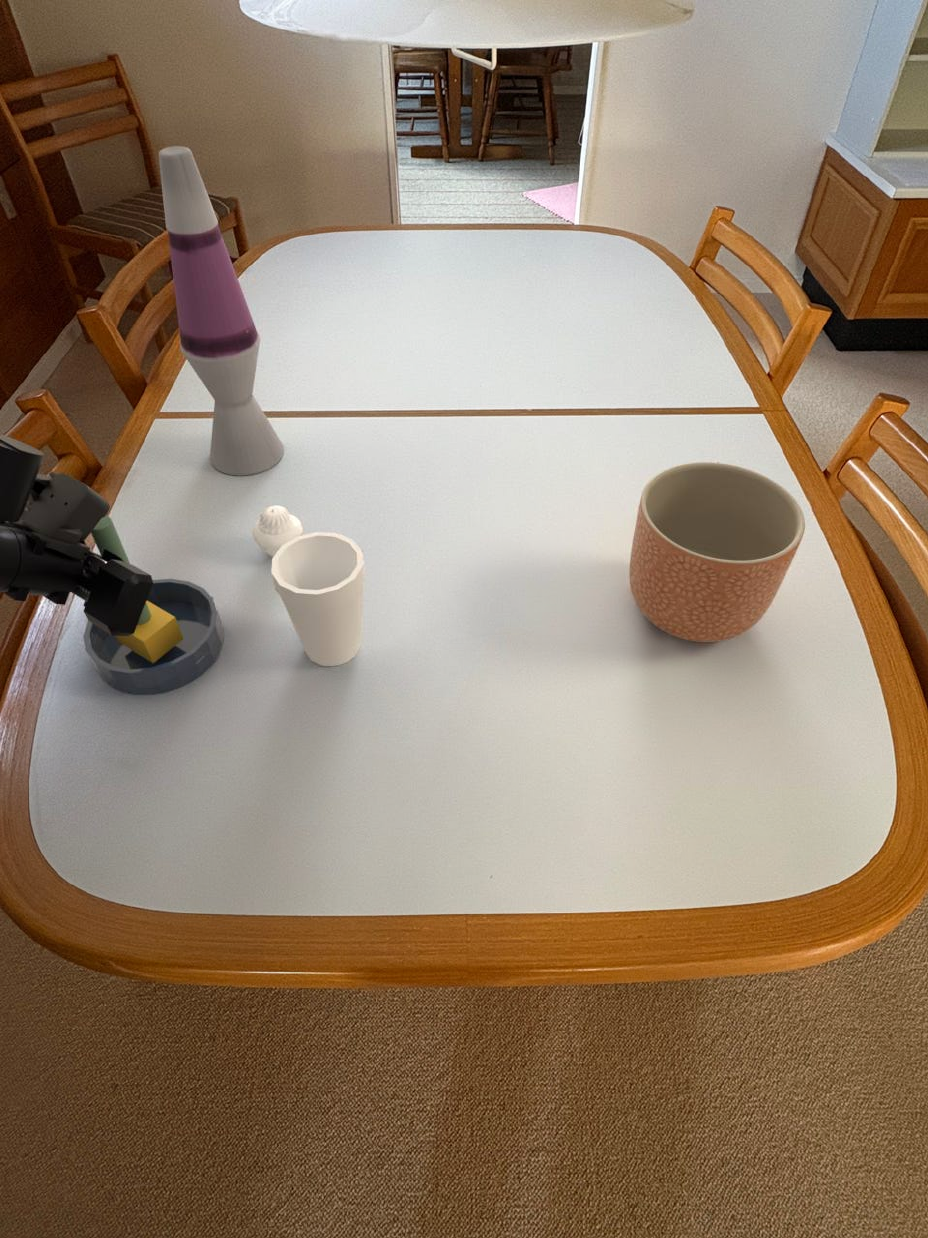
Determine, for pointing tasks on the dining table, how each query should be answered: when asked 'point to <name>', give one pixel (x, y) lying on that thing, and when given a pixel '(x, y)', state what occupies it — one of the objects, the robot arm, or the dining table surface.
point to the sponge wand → (155, 624)
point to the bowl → (178, 663)
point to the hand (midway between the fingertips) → (137, 577)
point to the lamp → (215, 320)
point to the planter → (711, 549)
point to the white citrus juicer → (276, 529)
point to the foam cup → (322, 594)
